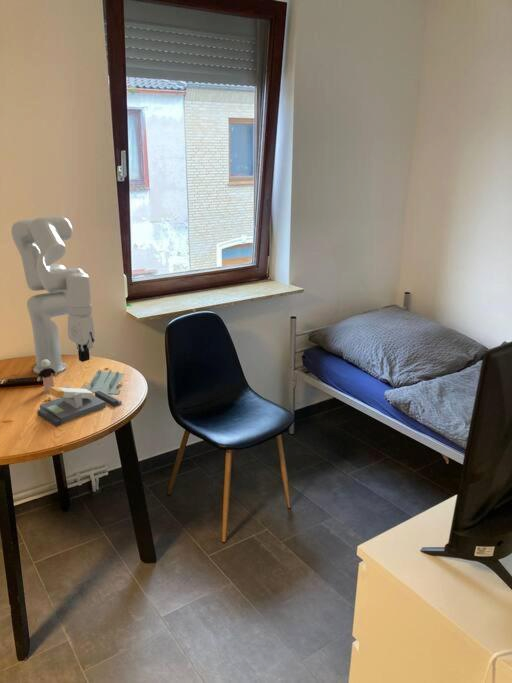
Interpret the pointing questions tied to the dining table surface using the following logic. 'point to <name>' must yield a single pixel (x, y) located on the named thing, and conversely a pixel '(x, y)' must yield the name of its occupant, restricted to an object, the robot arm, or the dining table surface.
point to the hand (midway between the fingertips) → (84, 360)
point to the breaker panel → (72, 406)
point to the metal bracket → (105, 382)
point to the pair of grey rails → (98, 394)
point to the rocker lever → (69, 392)
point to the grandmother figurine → (47, 375)
